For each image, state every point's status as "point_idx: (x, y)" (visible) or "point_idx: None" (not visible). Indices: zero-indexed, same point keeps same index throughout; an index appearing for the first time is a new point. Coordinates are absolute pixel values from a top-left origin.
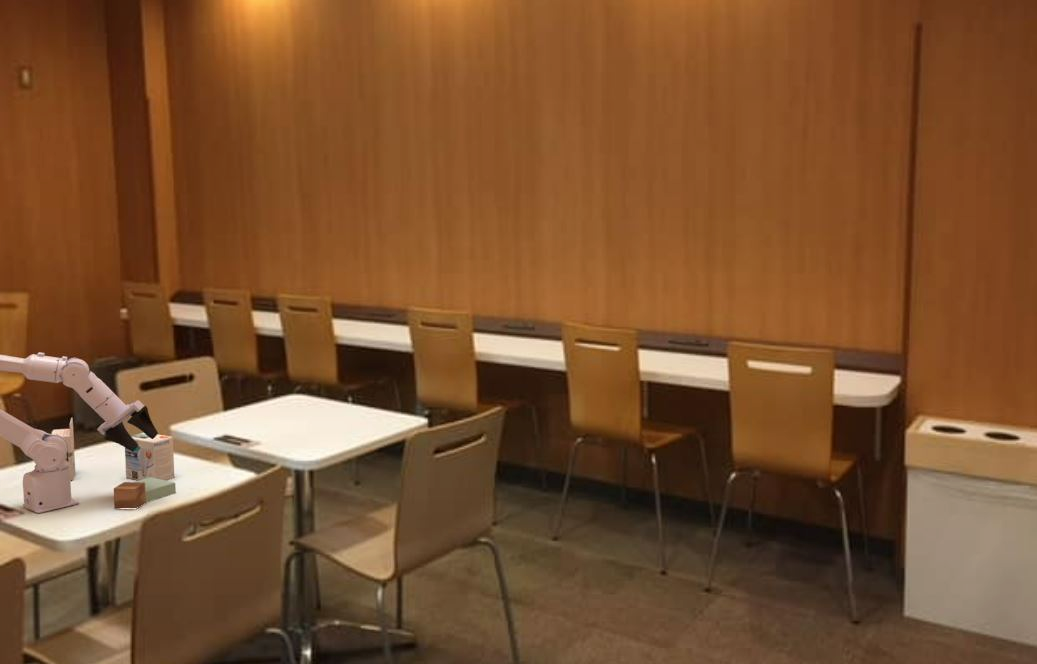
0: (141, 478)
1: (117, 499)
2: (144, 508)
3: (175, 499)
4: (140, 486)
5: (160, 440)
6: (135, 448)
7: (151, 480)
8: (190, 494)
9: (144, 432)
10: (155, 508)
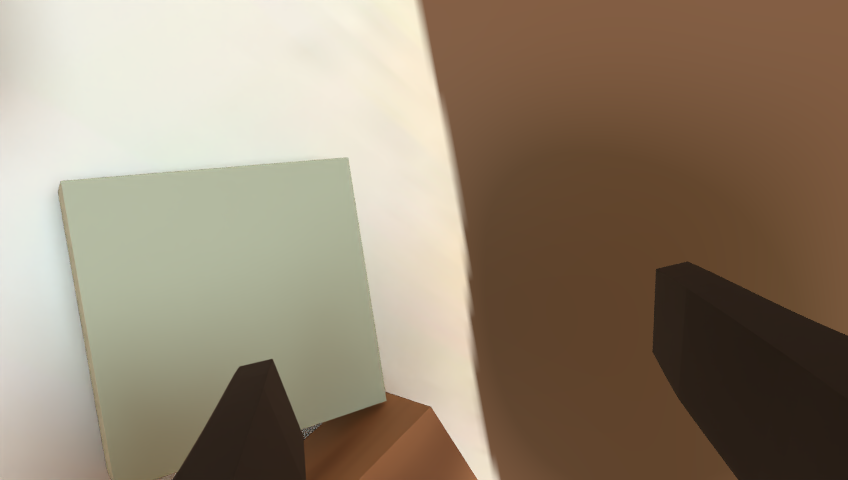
0: None
1: None
2: None
3: (419, 241)
4: (456, 453)
5: None
6: (292, 413)
7: (169, 228)
8: (401, 138)
9: (742, 468)
10: (471, 387)
